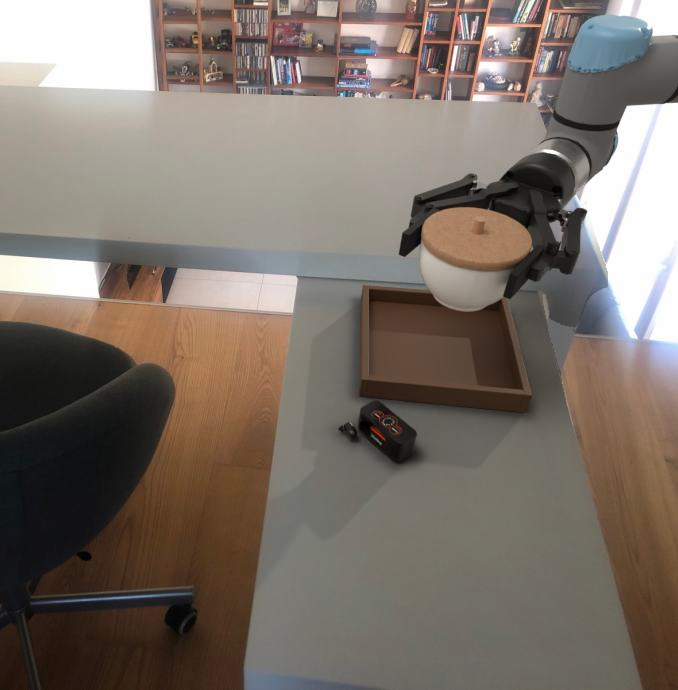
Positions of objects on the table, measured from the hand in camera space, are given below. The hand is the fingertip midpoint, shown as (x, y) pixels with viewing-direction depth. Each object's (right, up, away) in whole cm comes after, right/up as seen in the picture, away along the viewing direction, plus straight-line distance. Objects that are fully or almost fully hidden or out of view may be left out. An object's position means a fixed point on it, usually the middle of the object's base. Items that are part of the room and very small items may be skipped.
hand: (454, 265), depth 69 cm
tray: (+4, -9, +18) cm, 20 cm away
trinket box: (+3, -3, +6) cm, 7 cm away
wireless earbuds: (-7, -19, +7) cm, 21 cm away
